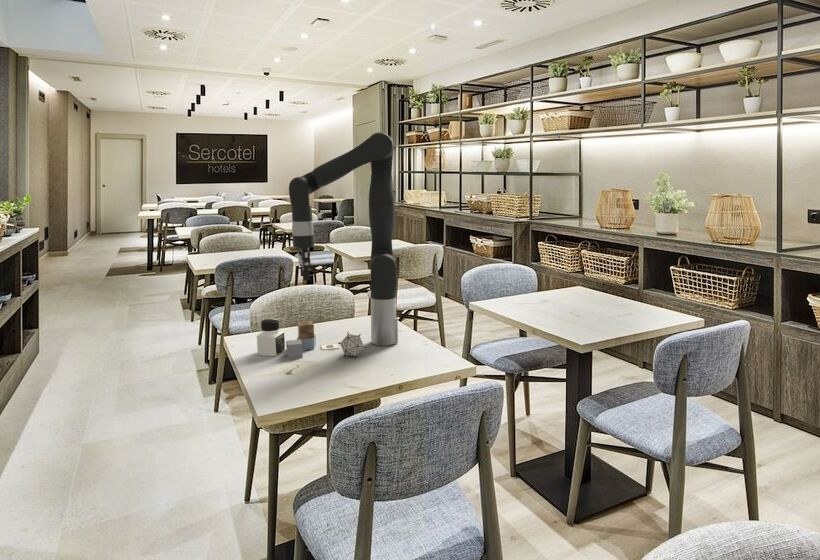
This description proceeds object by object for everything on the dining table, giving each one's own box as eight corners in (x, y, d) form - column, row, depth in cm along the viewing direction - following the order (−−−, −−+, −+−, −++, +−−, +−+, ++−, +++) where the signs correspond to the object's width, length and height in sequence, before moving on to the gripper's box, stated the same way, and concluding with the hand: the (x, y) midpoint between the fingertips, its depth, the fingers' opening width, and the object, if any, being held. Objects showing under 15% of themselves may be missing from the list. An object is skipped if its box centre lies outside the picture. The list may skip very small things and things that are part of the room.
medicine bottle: (276, 356, 194) (275, 323, 191) (257, 355, 195) (255, 321, 193) (285, 350, 201) (283, 317, 198) (266, 349, 202) (264, 316, 200)
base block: (316, 344, 208) (315, 334, 207) (314, 349, 202) (313, 339, 201) (299, 344, 207) (299, 334, 206) (297, 350, 201) (296, 339, 201)
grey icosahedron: (357, 365, 196) (375, 343, 195) (345, 364, 188) (363, 340, 187) (341, 349, 200) (358, 327, 199) (328, 347, 192) (346, 324, 191)
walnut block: (312, 334, 207) (311, 321, 206) (314, 338, 202) (313, 324, 201) (298, 335, 205) (297, 322, 204) (300, 339, 201) (299, 325, 200)
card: (337, 344, 207) (337, 343, 207) (339, 348, 202) (339, 347, 202) (320, 346, 205) (320, 345, 205) (322, 349, 201) (322, 348, 201)
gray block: (301, 353, 198) (300, 339, 197) (302, 357, 193) (302, 343, 192) (286, 354, 196) (286, 340, 195) (287, 359, 192) (287, 345, 191)
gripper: (316, 235, 196) (318, 281, 199) (311, 231, 210) (313, 274, 213) (294, 236, 194) (296, 282, 197) (290, 232, 208) (292, 275, 211)
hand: (305, 278), depth 205 cm, fingers open, 8 cm apart
